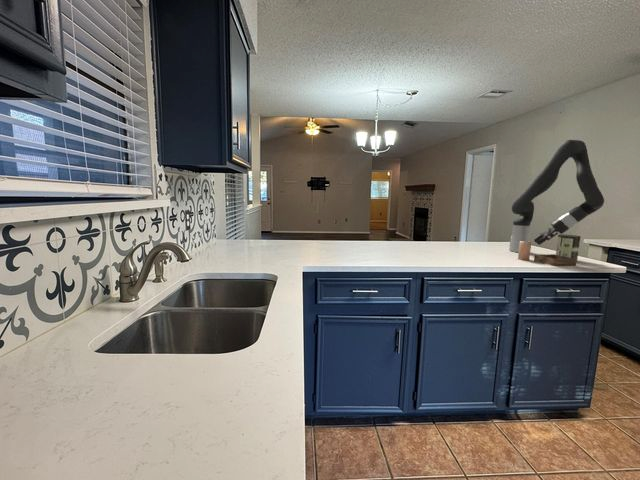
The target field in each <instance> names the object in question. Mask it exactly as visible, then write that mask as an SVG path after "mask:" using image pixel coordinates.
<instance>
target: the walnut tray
mask: <svg viewBox="0 0 640 480" xmlns="http://www.w3.org/2000/svg"><path fill="white" fill-rule="evenodd" d="M576 260H577V261H578V259H574V258H570V257H565V256H560V255H556V253H554V254H553V253H551V254H550V253H549V254H548V253H546V254H534V256H533V261H534V262H537V263H542V264H545V265H548V266H553V267H563V266H565V267H567V266H570V267H573V266H574V267H576V266H577V261H576Z"/></svg>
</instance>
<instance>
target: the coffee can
mask: <svg viewBox="0 0 640 480" xmlns="http://www.w3.org/2000/svg"><path fill="white" fill-rule="evenodd" d="M581 237H582V236H581V235H577V234H576V235H575V234H574V235H573V234H564V233H563V234H560V233H559V234H557V243H556V250H555V251H556V252H555V254H556V255H560V256H565V257H570V258H574V259H577V260H576V262H578V256H579V250H580V249H579V248H580V242H581Z"/></svg>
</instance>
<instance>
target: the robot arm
mask: <svg viewBox="0 0 640 480" xmlns="http://www.w3.org/2000/svg"><path fill="white" fill-rule="evenodd" d="M570 158H572V160H573V161H574V163H575V166H576V174H575V175H576V177H575V179H576V182H577V184H578V187H579V190H580V192H582V194H583V196H584V199H585V201H584V202H582V203H581V204H580V205H578V206H574V208H572V209H571V210H569V211H568V212H566V213H564V214H563V215H561V216H559V217H557V219H555V220H554V221H553V222H551V223H550V225H551V226H552V227H548V228H547V229H546V230H544V231H543V232H541V233H540V234H539V236H537V237H536V238H534V239H533V241H534V242H535V243H536V244H537V245H538V246H541V245H542V244H543V243H545V242H547V241H550V240H551V239H553V238H554V237H555V236H556V235H557V236H558V235H560V234H563V235H564V234H565V233H566V232H567V231H568V230H570V229H571V228H573V227H575V226H576V224H578V223H579V222H581V221H583V220H584V219H585V218H586V217H588V216H589V215H591V214H594V213H595V212H596V211H598V210H600V209H601V208H603V206H604V203H605V198H604V195H603V193H602V192H601V190H600V189H599V187H598V184H597V181H596V178H595V176H594V174H593V171H592V168H591V162H590V160H589V159H590V158H589V154H588V148H587V145H586V143H585V142H584V141H583V140H580V139H568V140H565V141H563V142H562V143H561V144H560V145H559V147H558V148H557V149H556V151H555V152H554V153H553V156H552V157H551V159H550V160H549V161H548V163H547V164H546V165H545V166H544V167H543V169H542V170H541V171H540V172H539V173H538V175H537V176H536V177H535V178H534V179H533V181H532V183H530V184H529V186H528V187H527V188H526V189H525V191H524V192H523V193H522V194H521V195H520V196H518V197H517V199H516V200H515V201H514V202H513V203H512V205H511V212H512V213H513V214H515V215H518V217H517V218H516V219H514V220H513V223H512V231H511V236H510V239H509V251H510V252H513V253H514V252H515V253H518V252H519V243H520V241H527V242H529V240H530V239H529V238H530V230H531V229H530V228H531V223H532V221H533V218H534V212H535V205H534V204H535V203H534V202H533V200H534V199H535V198H537V197H538V196H541V195H542V194H543V193H545V192H546V191H548V190H549V189H550V188H551V187H552V186H553V185H554V184H555V182H556V181H557V179H558V177H559V173H560V170H561V168H562V167H563V165H564V163H566V162H567V161H568V160H569V159H570Z"/></svg>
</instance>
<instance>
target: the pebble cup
mask: <svg viewBox="0 0 640 480" xmlns="http://www.w3.org/2000/svg"><path fill="white" fill-rule="evenodd" d="M531 249H532V241H528V242H527V241H520V243H519V252H517V253H518V254H517V259H518V260H521V261H530V256H531Z"/></svg>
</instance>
